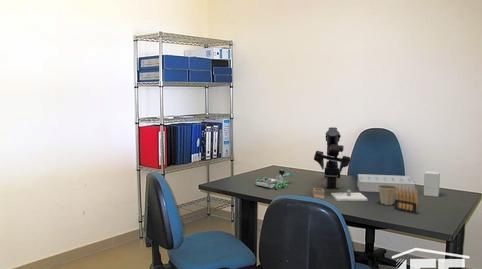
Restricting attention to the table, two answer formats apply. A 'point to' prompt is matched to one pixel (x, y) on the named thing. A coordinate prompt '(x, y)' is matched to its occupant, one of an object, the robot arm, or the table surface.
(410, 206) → the ammunition clip
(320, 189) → the jaw block
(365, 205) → the table surface
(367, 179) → the warehouse
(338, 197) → the jaw base
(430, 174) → the supplement box
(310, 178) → the table surface
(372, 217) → the table surface
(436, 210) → the table surface
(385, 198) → the flower pot
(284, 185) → the robot kit
